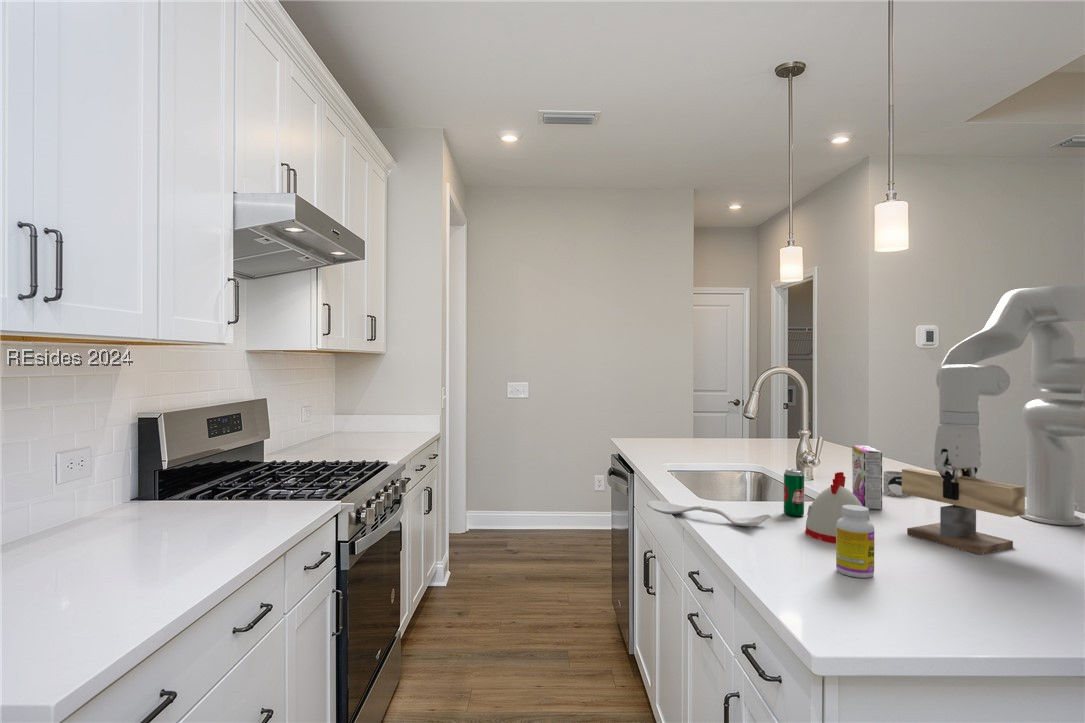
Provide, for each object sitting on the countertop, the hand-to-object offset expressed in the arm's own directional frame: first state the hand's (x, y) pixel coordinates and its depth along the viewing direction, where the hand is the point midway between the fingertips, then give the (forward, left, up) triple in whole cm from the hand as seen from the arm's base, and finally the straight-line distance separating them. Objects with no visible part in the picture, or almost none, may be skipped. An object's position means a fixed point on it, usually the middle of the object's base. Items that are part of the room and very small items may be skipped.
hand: (958, 496), depth 137 cm
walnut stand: (0, 0, -10) cm, 10 cm away
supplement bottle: (+40, +5, -10) cm, 42 cm away
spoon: (+42, -39, -11) cm, 58 cm away
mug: (-33, -37, -10) cm, 51 cm away
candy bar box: (-11, -32, -10) cm, 35 cm away
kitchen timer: (+22, -14, -10) cm, 28 cm away
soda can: (+17, -32, -10) cm, 38 cm away
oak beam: (0, 0, -1) cm, 1 cm away
